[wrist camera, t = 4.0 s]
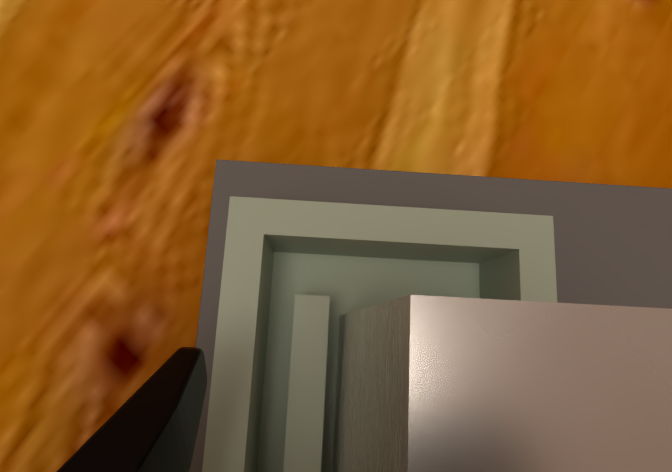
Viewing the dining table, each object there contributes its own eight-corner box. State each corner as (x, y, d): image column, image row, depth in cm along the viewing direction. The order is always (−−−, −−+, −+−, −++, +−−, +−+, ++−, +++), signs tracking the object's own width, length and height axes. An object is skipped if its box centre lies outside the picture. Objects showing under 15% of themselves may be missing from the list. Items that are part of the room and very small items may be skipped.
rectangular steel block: (409, 484, 14) (775, 1112, 3) (331, 481, 13) (396, 1115, 3) (411, 319, 15) (689, 309, 4) (339, 315, 14) (410, 294, 4)
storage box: (502, 578, 14) (575, 677, 10) (220, 570, 14) (182, 668, 10) (495, 241, 16) (552, 216, 12) (251, 227, 16) (229, 196, 12)
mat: (927, 668, 15) (953, 683, 14) (166, 650, 14) (159, 665, 13) (842, 203, 18) (860, 200, 17) (219, 164, 17) (216, 158, 16)
